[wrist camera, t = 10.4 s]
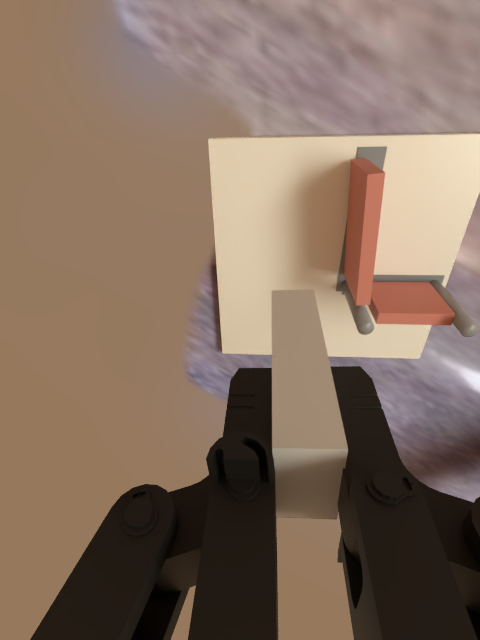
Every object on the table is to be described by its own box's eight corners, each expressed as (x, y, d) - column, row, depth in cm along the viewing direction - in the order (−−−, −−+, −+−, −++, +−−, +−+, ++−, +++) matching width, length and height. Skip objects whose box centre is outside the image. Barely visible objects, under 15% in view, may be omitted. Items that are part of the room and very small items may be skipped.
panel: (355, 273, 35) (370, 304, 30) (343, 274, 35) (356, 305, 30) (365, 157, 29) (385, 172, 24) (350, 159, 29) (367, 174, 24)
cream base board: (416, 353, 42) (448, 410, 35) (223, 348, 44) (214, 401, 36) (494, 132, 28) (572, 148, 21) (209, 137, 30) (190, 154, 23)
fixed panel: (425, 292, 36) (451, 325, 31) (361, 291, 36) (376, 323, 31) (429, 282, 35) (455, 314, 30) (363, 281, 36) (378, 312, 31)
